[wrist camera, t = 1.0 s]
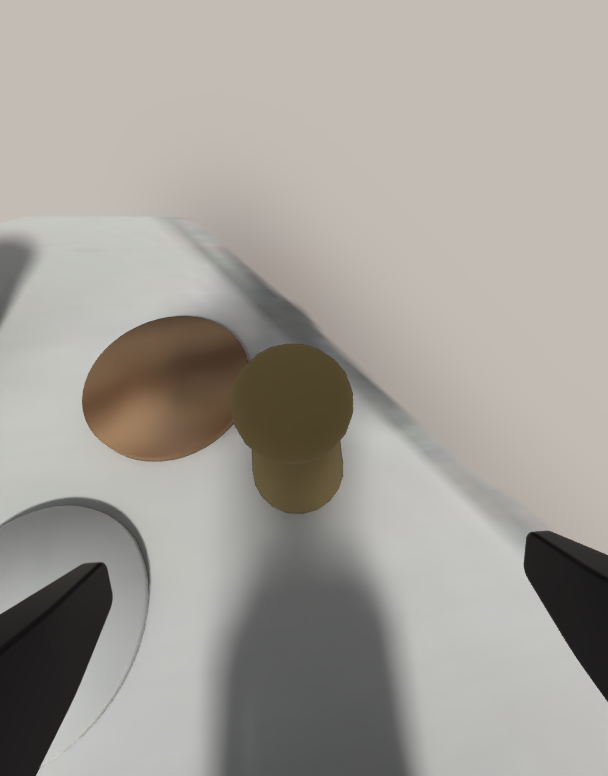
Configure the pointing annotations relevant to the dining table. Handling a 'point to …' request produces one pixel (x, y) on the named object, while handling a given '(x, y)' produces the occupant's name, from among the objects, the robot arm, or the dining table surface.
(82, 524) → the grey round disc
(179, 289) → the dining table surface
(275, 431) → the olive chess pawn
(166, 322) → the walnut trivet
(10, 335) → the dining table surface
